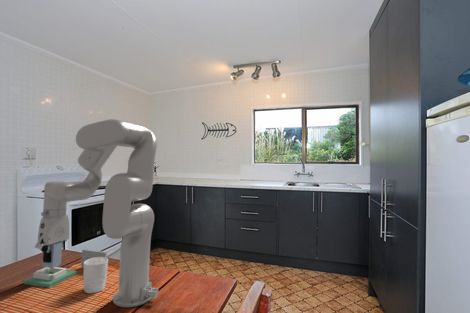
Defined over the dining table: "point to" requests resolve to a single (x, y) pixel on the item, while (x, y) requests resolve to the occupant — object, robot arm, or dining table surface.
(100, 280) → the white cup
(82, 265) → the cassette
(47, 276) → the header board
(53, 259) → the plug
